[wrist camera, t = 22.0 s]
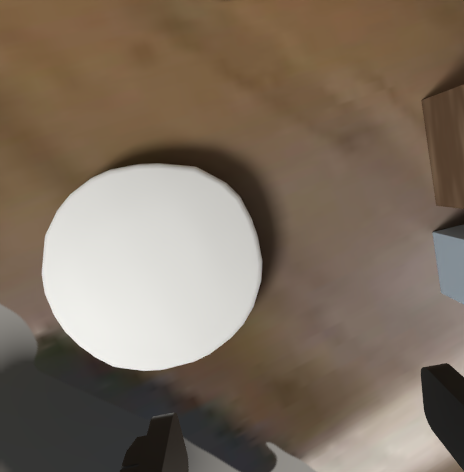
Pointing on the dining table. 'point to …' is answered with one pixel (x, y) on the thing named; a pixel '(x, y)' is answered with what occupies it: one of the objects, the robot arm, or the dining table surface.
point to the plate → (152, 265)
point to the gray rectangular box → (450, 261)
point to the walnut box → (446, 145)
